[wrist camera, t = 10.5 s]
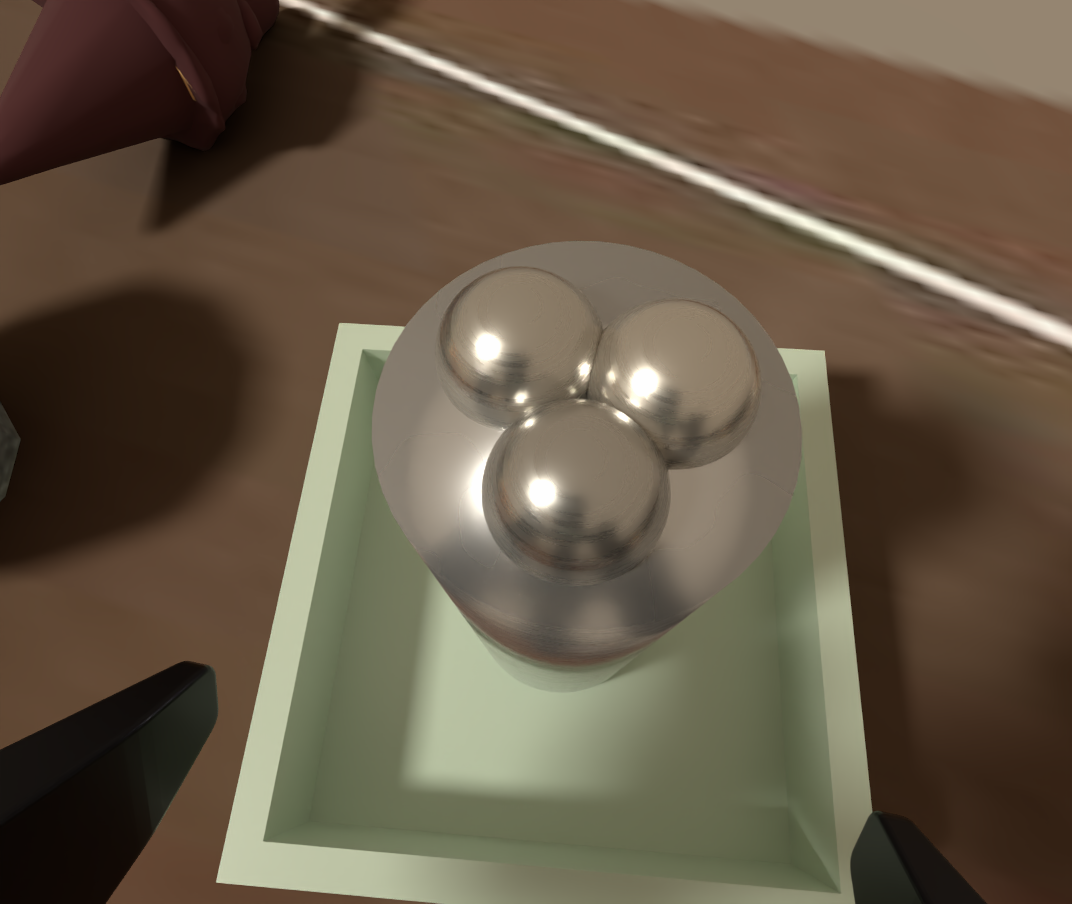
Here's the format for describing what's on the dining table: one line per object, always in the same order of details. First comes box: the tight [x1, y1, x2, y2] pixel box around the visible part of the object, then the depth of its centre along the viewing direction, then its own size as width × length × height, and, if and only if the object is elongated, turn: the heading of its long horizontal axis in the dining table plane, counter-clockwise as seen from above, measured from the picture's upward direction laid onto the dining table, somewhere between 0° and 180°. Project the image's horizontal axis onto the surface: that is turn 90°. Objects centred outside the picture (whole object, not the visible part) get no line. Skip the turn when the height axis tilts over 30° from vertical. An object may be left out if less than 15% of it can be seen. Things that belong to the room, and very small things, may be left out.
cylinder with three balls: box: [372, 241, 802, 693], centre depth 12 cm, size 5×5×13 cm
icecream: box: [0, 0, 279, 185], centre depth 23 cm, size 7×7×15 cm
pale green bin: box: [216, 323, 872, 904], centre depth 17 cm, size 14×14×4 cm
